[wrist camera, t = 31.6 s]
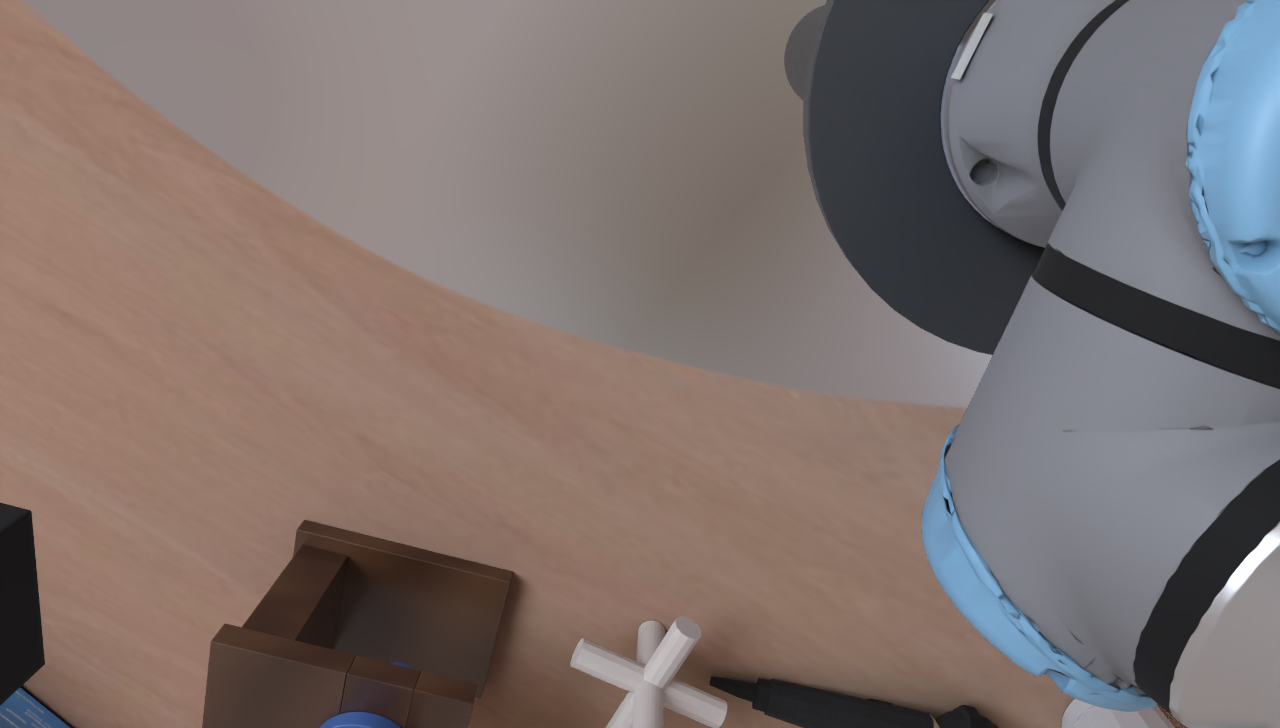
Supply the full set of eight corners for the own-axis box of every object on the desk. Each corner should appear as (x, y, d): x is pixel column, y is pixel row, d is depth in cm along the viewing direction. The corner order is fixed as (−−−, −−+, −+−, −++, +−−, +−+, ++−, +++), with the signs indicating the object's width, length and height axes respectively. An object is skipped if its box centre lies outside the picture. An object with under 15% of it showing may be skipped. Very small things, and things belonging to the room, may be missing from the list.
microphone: (709, 665, 63) (985, 742, 61) (696, 739, 58) (993, 824, 56) (724, 622, 59) (1017, 702, 57) (711, 697, 55) (1028, 786, 53)
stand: (513, 571, 57) (472, 704, 46) (484, 687, 60) (439, 836, 49) (304, 519, 56) (210, 641, 45) (287, 639, 60) (196, 780, 48)
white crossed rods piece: (753, 607, 57) (768, 720, 48) (682, 711, 60) (683, 835, 51) (618, 545, 56) (606, 649, 46) (553, 654, 59) (530, 771, 50)
